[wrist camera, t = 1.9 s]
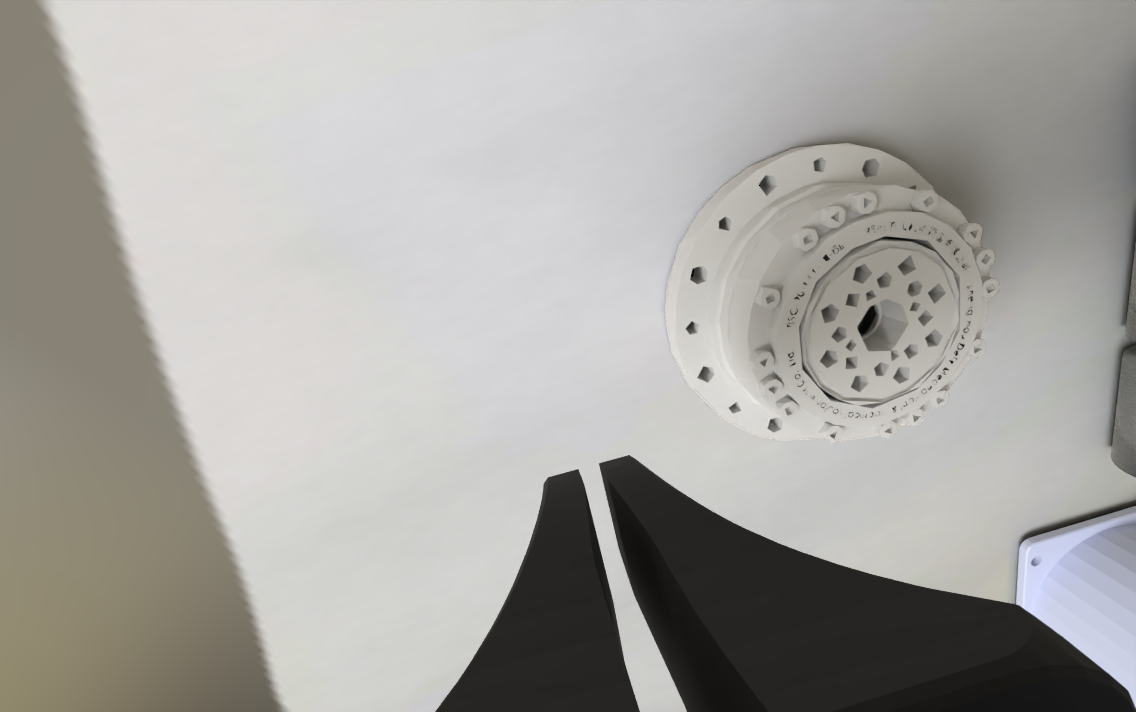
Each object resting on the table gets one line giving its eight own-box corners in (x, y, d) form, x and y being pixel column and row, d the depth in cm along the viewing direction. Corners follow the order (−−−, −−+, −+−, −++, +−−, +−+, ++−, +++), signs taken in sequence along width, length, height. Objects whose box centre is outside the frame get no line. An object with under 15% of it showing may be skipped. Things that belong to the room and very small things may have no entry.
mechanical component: (958, 335, 21) (873, 85, 17) (1077, 372, 16) (994, 53, 13) (734, 471, 21) (610, 250, 18) (795, 540, 17) (647, 269, 14)
